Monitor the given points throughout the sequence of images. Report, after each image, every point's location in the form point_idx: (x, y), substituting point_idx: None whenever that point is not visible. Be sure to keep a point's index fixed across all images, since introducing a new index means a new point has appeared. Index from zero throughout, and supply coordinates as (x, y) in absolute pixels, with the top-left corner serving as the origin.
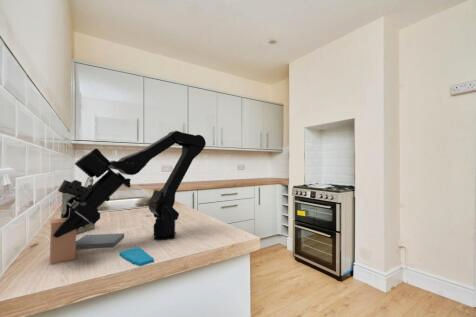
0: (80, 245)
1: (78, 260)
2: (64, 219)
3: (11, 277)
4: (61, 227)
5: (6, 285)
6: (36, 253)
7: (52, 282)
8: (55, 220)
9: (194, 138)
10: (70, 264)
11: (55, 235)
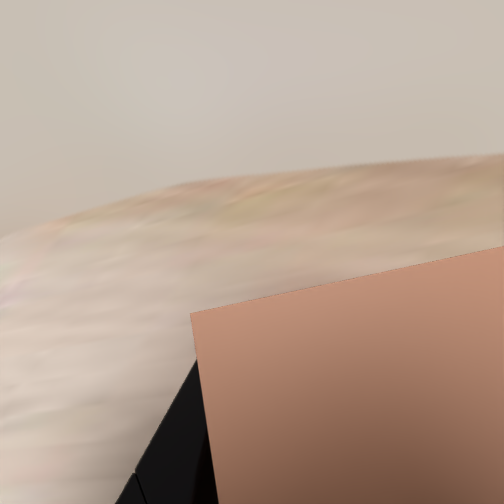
0: None
1: None
2: (439, 469)
3: (165, 206)
4: (162, 430)
5: (90, 214)
6: (477, 217)
7: (9, 371)
8: (408, 324)
9: None
10: None
11: None
